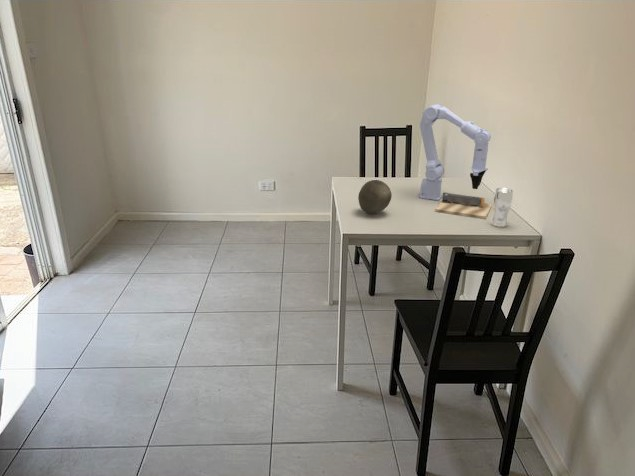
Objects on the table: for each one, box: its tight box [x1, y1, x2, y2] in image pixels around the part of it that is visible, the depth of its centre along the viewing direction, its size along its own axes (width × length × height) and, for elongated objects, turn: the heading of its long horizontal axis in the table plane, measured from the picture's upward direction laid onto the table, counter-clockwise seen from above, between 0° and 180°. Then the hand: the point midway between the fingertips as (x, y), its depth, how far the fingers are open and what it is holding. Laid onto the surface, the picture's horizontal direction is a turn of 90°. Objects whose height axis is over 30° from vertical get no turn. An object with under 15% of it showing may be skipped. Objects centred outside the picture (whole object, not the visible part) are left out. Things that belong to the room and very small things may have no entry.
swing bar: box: [441, 192, 485, 206], centre depth 217 cm, size 19×3×3 cm, turn 64°
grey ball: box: [357, 179, 393, 215], centre depth 208 cm, size 14×14×15 cm
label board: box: [434, 199, 493, 220], centre depth 215 cm, size 22×18×2 cm
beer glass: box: [491, 187, 514, 228], centre depth 195 cm, size 7×7×15 cm
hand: (476, 187), depth 218 cm, fingers open, 5 cm apart
